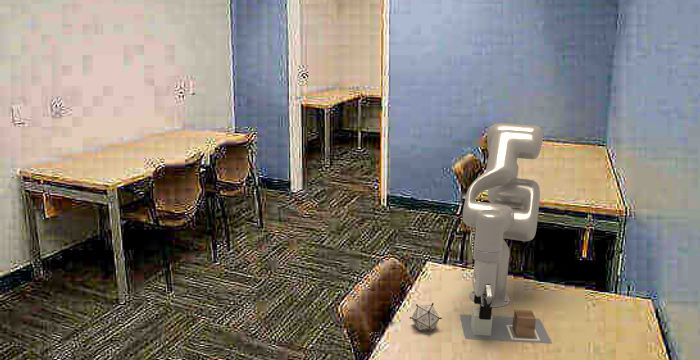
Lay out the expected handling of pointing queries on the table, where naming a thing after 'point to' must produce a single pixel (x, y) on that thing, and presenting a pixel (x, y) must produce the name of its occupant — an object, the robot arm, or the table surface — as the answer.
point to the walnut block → (524, 323)
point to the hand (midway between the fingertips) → (482, 311)
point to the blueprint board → (504, 331)
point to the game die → (425, 317)
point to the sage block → (480, 323)
